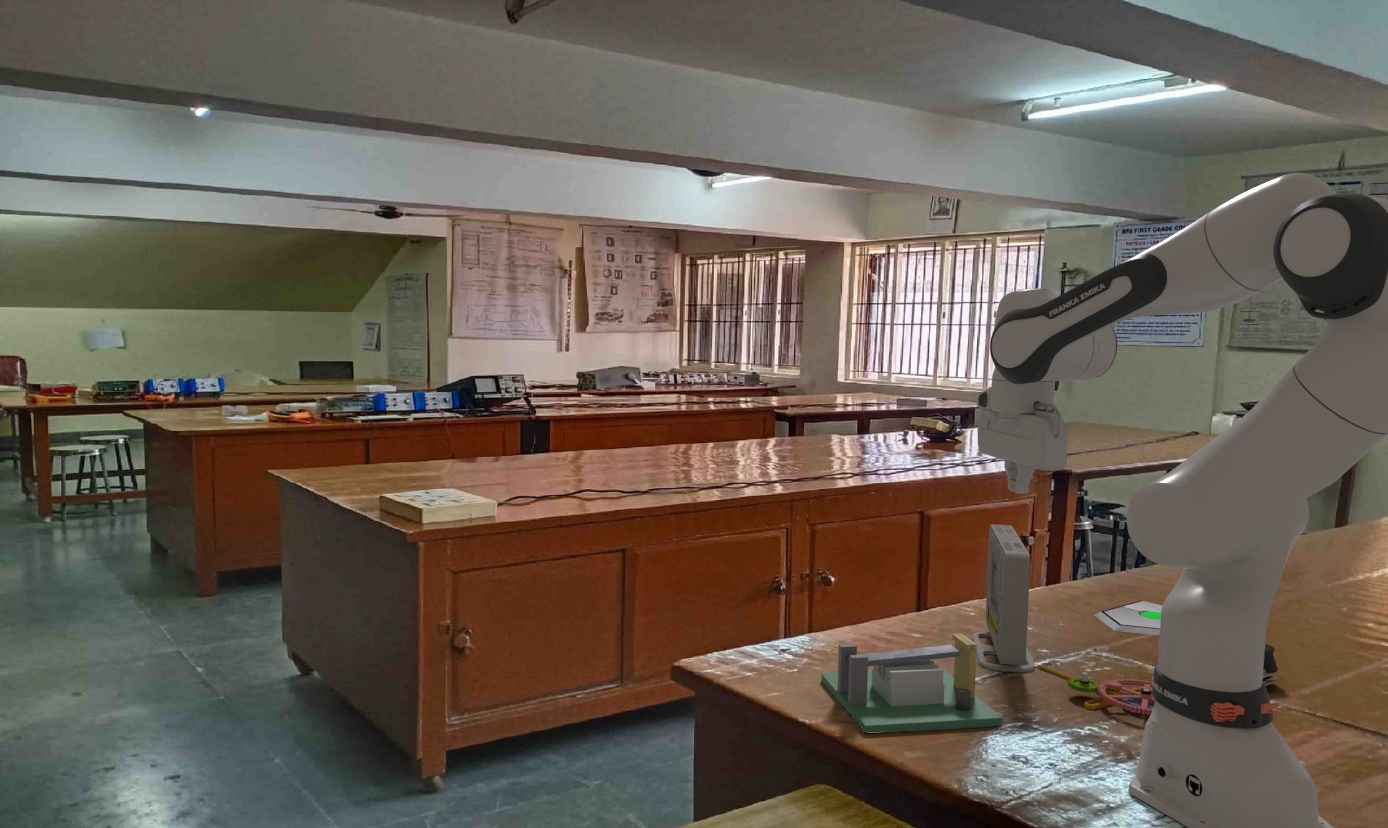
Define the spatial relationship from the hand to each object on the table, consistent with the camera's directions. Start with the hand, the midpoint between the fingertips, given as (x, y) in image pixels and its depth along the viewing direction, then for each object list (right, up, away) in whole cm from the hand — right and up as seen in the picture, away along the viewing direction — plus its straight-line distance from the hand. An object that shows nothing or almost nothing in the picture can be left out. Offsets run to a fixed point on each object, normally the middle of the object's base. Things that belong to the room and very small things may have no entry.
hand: (1018, 492), depth 144 cm
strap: (-18, -24, -2) cm, 30 cm away
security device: (+38, -29, +41) cm, 62 cm away
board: (-17, -31, -1) cm, 35 cm away
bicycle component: (+36, -31, +9) cm, 48 cm away
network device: (+5, -30, +22) cm, 37 cm away
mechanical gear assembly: (+16, -32, +2) cm, 36 cm away
